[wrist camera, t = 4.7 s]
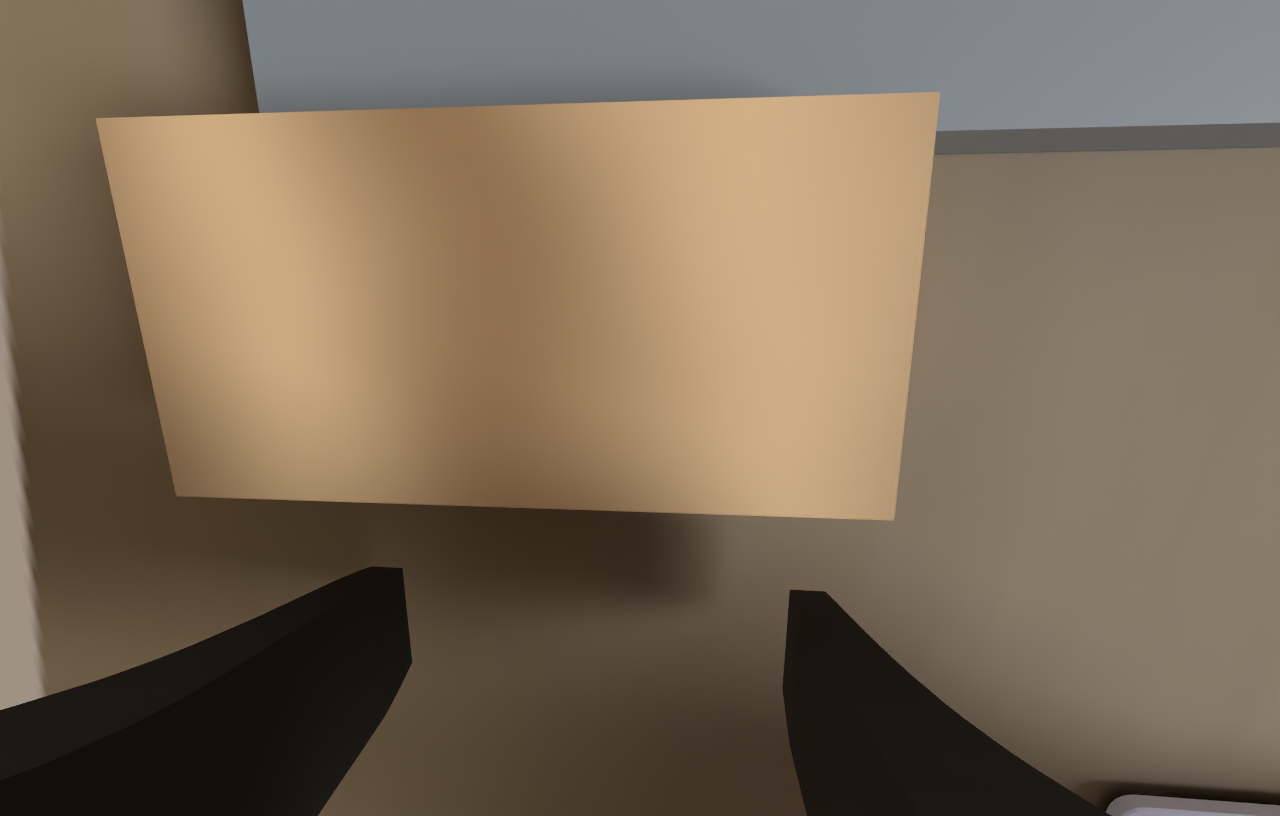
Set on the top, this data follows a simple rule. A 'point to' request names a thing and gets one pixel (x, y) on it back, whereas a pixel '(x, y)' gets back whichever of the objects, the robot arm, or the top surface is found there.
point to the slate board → (804, 61)
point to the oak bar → (534, 301)
